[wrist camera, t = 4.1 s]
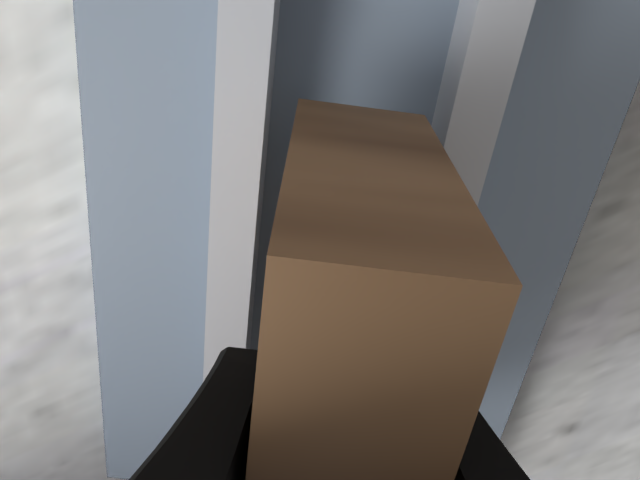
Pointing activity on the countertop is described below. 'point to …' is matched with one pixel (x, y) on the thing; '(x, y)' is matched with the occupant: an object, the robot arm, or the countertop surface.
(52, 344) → the countertop surface
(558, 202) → the floor track
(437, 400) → the door slab
